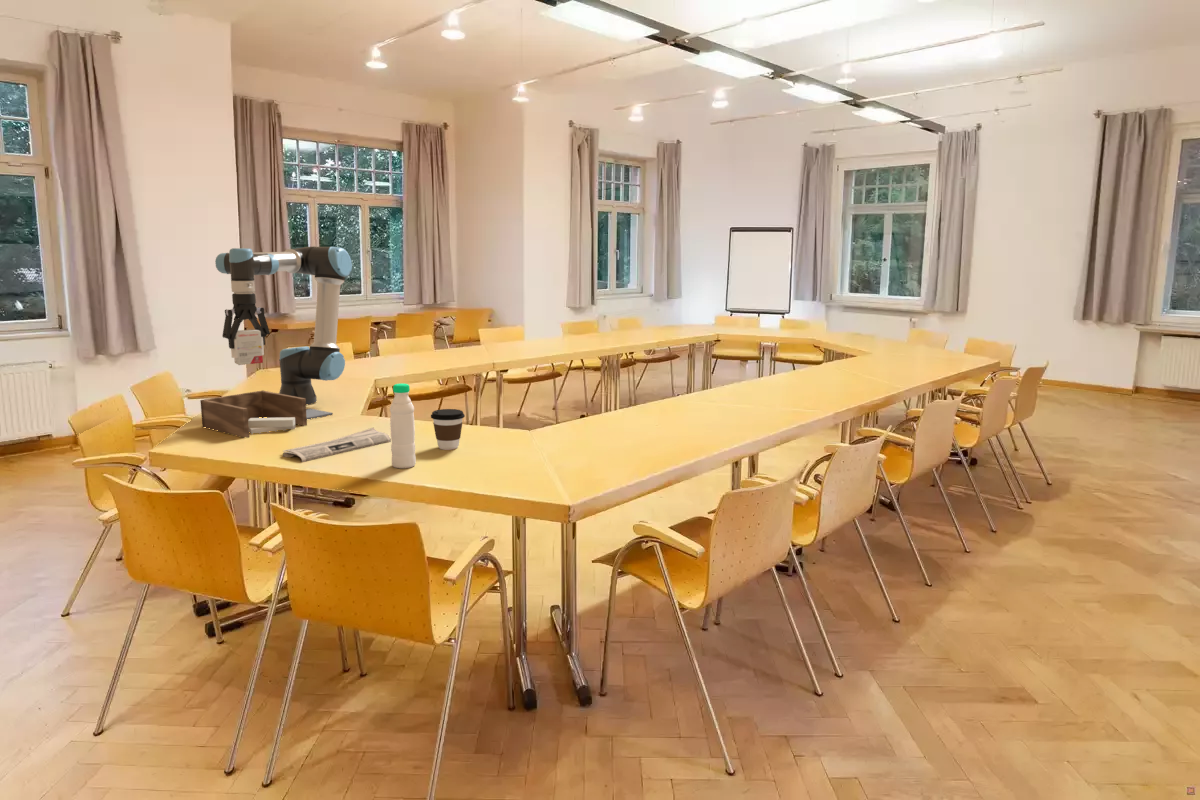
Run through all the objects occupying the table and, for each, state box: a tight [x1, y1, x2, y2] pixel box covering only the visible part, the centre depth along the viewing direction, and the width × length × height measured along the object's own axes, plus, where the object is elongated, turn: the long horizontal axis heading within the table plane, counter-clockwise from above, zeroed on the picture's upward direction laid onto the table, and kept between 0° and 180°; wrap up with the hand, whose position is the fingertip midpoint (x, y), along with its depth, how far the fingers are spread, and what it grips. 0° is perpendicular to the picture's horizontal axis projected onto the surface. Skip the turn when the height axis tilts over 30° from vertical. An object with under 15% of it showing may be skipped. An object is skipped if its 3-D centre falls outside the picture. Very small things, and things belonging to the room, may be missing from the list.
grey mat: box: [306, 407, 334, 420], centre depth 306 cm, size 13×14×1 cm
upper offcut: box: [248, 417, 296, 427], centre depth 281 cm, size 15×4×2 cm, turn 100°
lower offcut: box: [249, 424, 297, 435], centre depth 281 cm, size 15×4×2 cm, turn 128°
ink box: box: [233, 329, 264, 366], centre depth 282 cm, size 9×5×12 cm, turn 129°
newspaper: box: [282, 427, 392, 463], centre depth 259 cm, size 35×12×4 cm, turn 144°
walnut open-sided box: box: [199, 390, 308, 438], centre depth 286 cm, size 25×26×10 cm
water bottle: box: [389, 382, 417, 469], centre depth 237 cm, size 7×7×25 cm
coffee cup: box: [430, 408, 465, 451], centre depth 261 cm, size 11×11×12 cm
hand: (248, 356), depth 283 cm, fingers closed on ink box, 9 cm apart
